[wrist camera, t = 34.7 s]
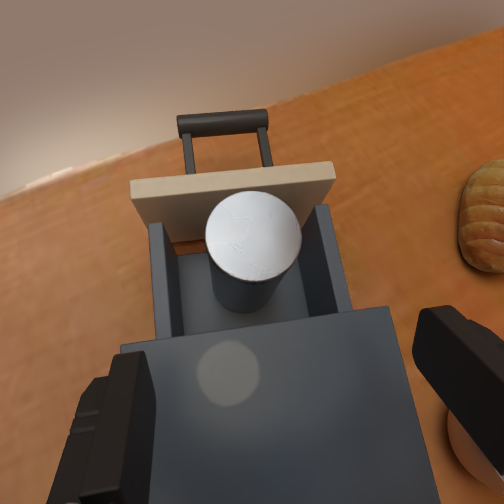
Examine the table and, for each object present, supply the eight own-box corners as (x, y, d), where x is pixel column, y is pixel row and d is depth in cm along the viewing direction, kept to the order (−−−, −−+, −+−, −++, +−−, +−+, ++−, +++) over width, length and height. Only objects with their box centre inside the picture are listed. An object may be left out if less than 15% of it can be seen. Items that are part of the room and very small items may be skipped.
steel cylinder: (215, 318, 24) (210, 288, 15) (208, 256, 25) (199, 194, 16) (278, 309, 24) (311, 275, 15) (268, 249, 25) (292, 185, 16)
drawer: (149, 161, 28) (124, 92, 21) (291, 148, 30) (312, 79, 22) (170, 446, 22) (145, 483, 15) (347, 414, 24) (400, 434, 16)
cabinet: (157, 352, 25) (119, 344, 16) (333, 326, 26) (389, 305, 17) (177, 639, 20) (139, 853, 11) (389, 587, 22) (504, 740, 13)
